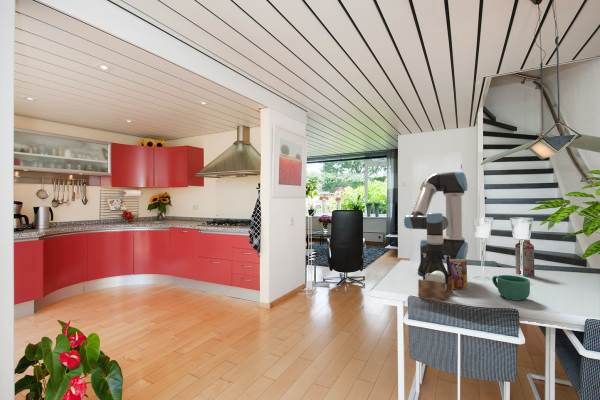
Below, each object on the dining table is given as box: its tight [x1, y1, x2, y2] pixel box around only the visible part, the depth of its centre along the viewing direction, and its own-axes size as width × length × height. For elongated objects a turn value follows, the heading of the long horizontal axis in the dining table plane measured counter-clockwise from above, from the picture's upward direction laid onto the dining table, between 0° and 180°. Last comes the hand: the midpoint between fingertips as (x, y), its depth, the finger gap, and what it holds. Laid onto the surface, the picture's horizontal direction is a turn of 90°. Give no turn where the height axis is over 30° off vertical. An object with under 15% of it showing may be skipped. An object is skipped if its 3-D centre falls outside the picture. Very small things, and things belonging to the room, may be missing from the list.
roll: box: [425, 271, 445, 283], centre depth 148 cm, size 12×8×8 cm, turn 142°
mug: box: [491, 274, 531, 301], centre depth 142 cm, size 17×13×10 cm
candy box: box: [446, 259, 468, 290], centre depth 157 cm, size 9×4×15 cm, turn 89°
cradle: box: [417, 273, 453, 302], centre depth 148 cm, size 12×18×8 cm, turn 143°
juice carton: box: [514, 239, 535, 277], centre depth 184 cm, size 7×7×22 cm
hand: (435, 288), depth 148 cm, fingers closed on roll, 8 cm apart
